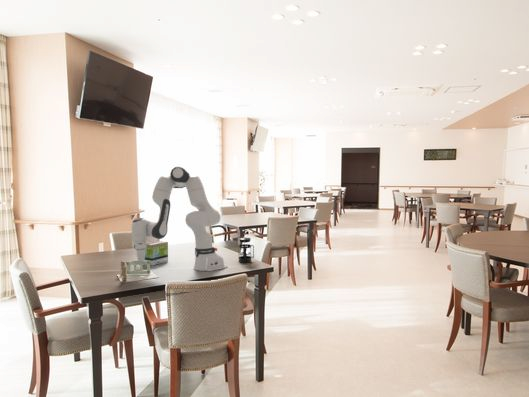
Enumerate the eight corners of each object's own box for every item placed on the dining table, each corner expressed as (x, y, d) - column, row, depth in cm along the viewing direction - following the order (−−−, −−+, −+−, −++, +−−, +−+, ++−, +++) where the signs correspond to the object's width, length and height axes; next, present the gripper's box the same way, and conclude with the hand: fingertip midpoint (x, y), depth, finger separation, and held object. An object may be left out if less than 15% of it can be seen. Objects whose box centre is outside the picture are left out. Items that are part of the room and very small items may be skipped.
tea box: (153, 265, 256) (152, 244, 256) (142, 264, 261) (142, 243, 260) (168, 261, 270) (168, 241, 269) (158, 260, 274) (158, 240, 274)
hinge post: (126, 274, 234) (125, 260, 234) (127, 275, 231) (126, 261, 230) (119, 275, 233) (118, 261, 232) (120, 276, 229) (119, 262, 228)
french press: (237, 263, 260) (237, 231, 259) (237, 260, 269) (236, 229, 268) (254, 263, 262) (254, 230, 260) (253, 260, 271) (252, 228, 269)
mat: (150, 270, 243) (150, 270, 243) (157, 277, 226) (157, 277, 226) (116, 275, 232) (116, 274, 232) (121, 283, 216) (121, 282, 216)
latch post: (127, 280, 221) (126, 265, 220) (128, 282, 217) (128, 267, 217) (120, 281, 219) (119, 266, 218) (121, 283, 215) (120, 268, 215)
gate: (126, 274, 231) (126, 261, 231) (127, 274, 233) (127, 261, 232) (149, 274, 232) (149, 261, 231) (150, 273, 233) (150, 260, 233)
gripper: (133, 241, 242) (134, 262, 243) (135, 247, 223) (136, 269, 224) (143, 240, 245) (144, 261, 246) (146, 246, 226) (147, 268, 227)
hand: (140, 265), depth 235 cm, fingers closed
